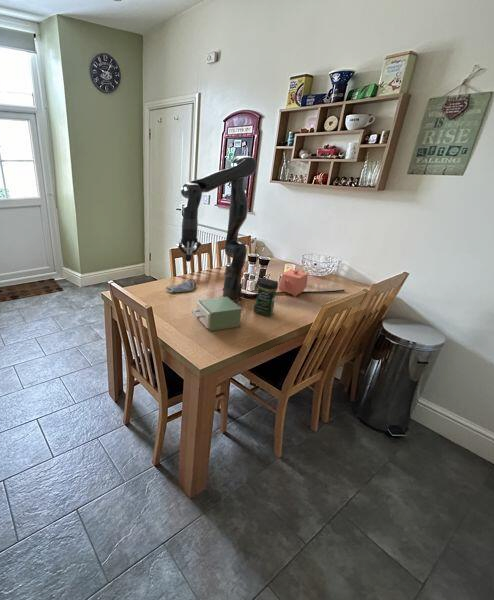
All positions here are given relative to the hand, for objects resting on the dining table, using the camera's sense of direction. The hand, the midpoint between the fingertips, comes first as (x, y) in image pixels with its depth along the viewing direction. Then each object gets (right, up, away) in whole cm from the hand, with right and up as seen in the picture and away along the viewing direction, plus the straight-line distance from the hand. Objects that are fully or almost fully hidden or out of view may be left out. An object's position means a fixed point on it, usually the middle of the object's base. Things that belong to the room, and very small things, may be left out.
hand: (188, 261), depth 165 cm
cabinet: (+15, -30, -2) cm, 34 cm away
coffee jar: (+41, -26, +8) cm, 49 cm away
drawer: (+11, -30, -4) cm, 32 cm away
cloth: (+1, -12, +38) cm, 40 cm away
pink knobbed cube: (+65, -15, +33) cm, 75 cm away
